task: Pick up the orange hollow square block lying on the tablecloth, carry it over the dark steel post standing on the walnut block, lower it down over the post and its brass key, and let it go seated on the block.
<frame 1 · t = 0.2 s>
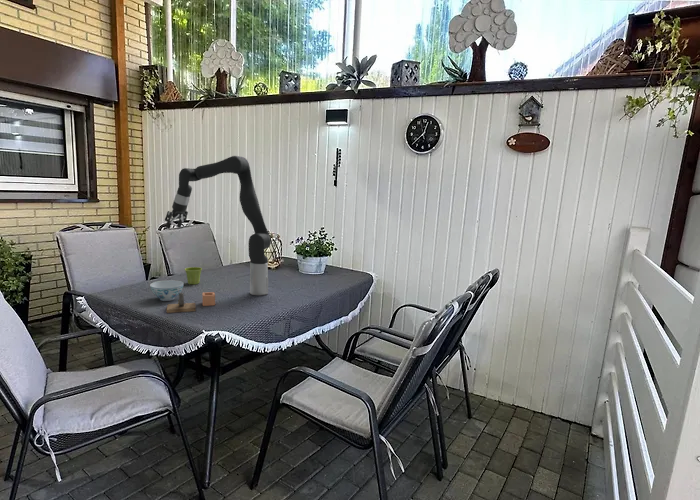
hand: (173, 227, 221), 31 cm above the table, tool tilted 20°, fingers open, 8 cm apart
chinaware: (167, 299, 191), on the table
orange hollow square block: (208, 303, 187), on the table
shaft block: (181, 309, 178), on the table
plant pot: (193, 283, 222), on the table
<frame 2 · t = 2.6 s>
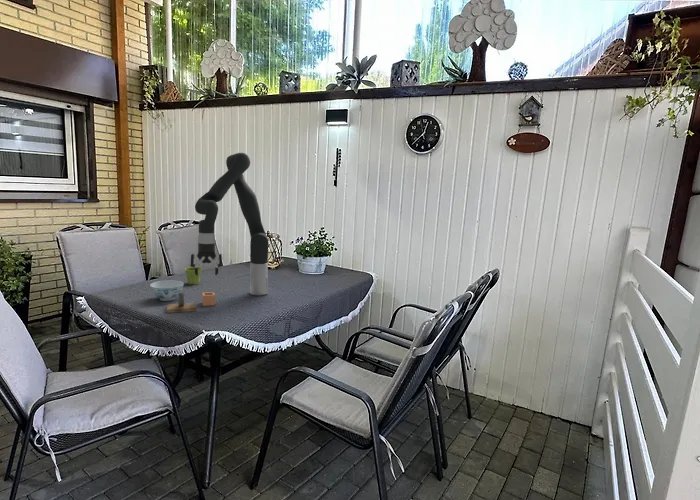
hand: (206, 275, 185), 14 cm above the table, tool pointing down, fingers open, 8 cm apart
nothing on the table moved.
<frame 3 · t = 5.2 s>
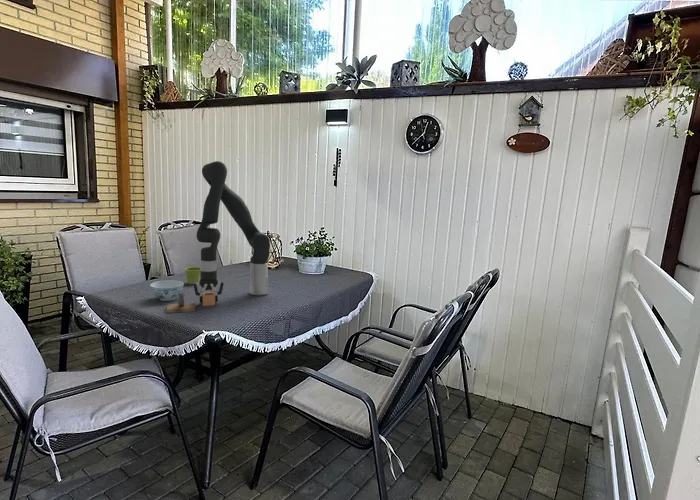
hand: (208, 302, 187), 1 cm above the table, tool pointing down, fingers closed on orange hollow square block, 5 cm apart
orange hollow square block: (208, 303, 187), on the table, touching gripper
everything else where it was.
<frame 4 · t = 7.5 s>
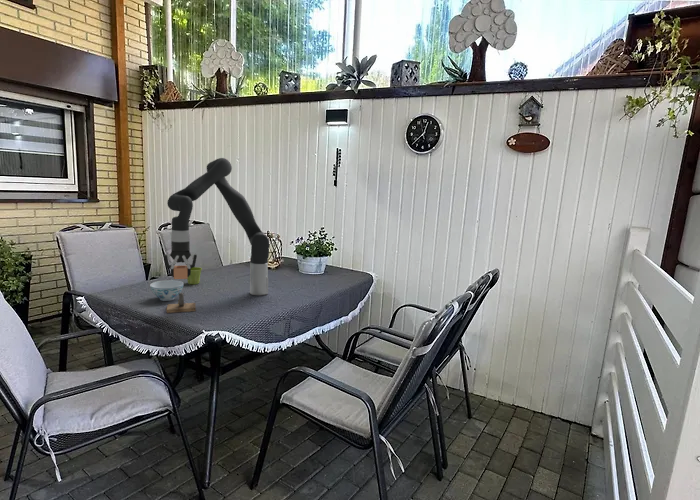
hand: (180, 276, 175), 16 cm above the table, tool pointing down, fingers closed on orange hollow square block, 5 cm apart
orange hollow square block: (180, 277, 175), point 15 cm above the table, touching gripper
everything else where it was.
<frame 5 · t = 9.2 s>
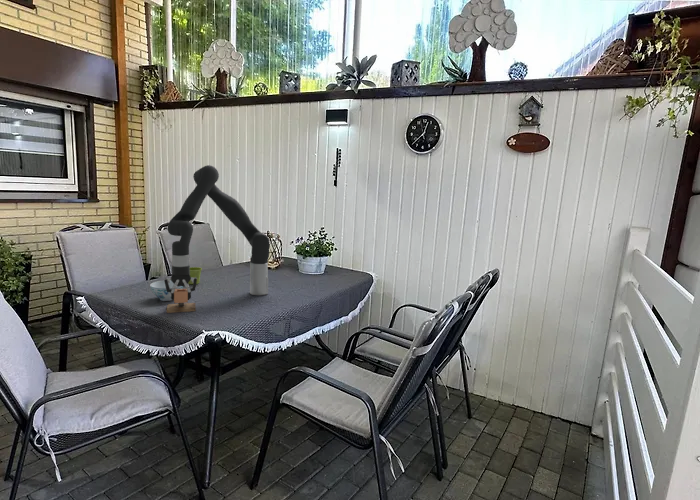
hand: (181, 299, 177), 4 cm above the table, tool pointing down, fingers closed on orange hollow square block, 5 cm apart
orange hollow square block: (181, 300, 177), point 4 cm above the table, touching gripper
everything else where it was.
when the fingers open (4 cm above the table, at t = 10.2 s): orange hollow square block drops 2 cm, resting on shaft block.
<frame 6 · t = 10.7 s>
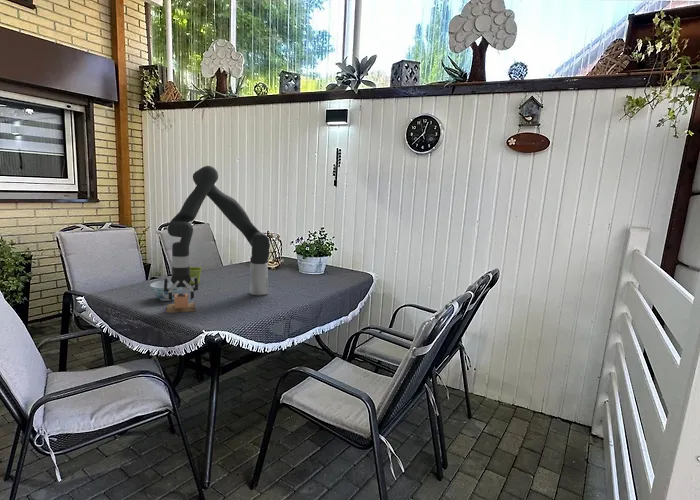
hand: (181, 299, 177), 5 cm above the table, tool pointing down, fingers open, 8 cm apart
orange hollow square block: (181, 306, 177), point 1 cm above the table, touching shaft block
everything else where it was.
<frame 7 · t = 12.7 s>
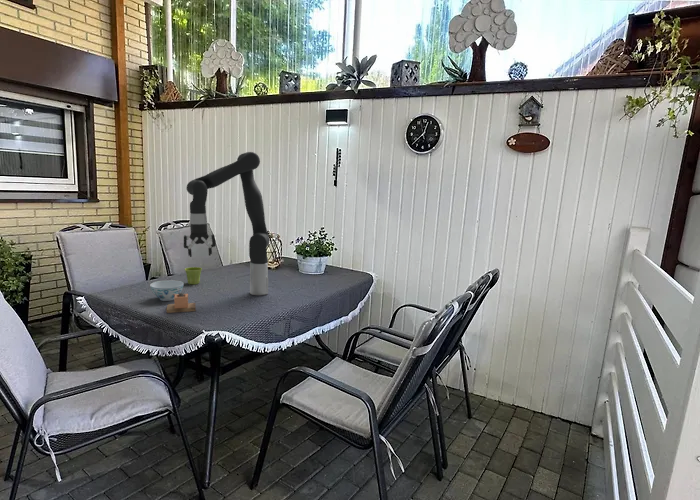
hand: (200, 256, 186), 23 cm above the table, tool pointing down, fingers open, 8 cm apart
nothing on the table moved.
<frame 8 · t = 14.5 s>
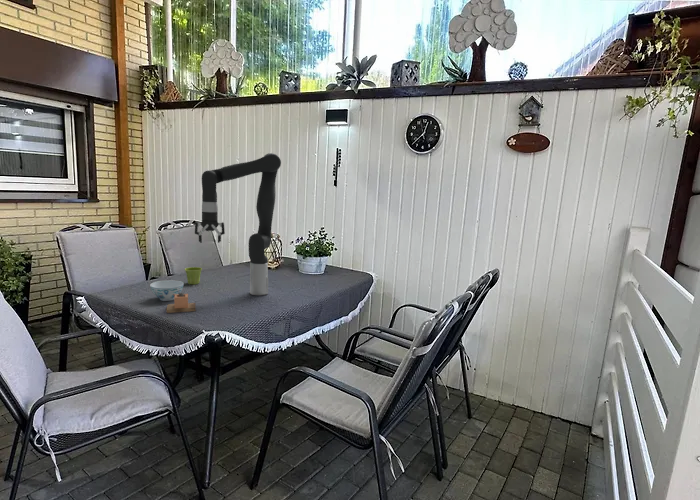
hand: (209, 242, 196), 28 cm above the table, tool pointing down, fingers open, 8 cm apart
nothing on the table moved.
at the end: orange hollow square block 0.0 cm off-centre on the shaft block, point 1.5 cm above the shaft block's base; orange hollow square block tilted 0°; the gripper is holding nothing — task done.
